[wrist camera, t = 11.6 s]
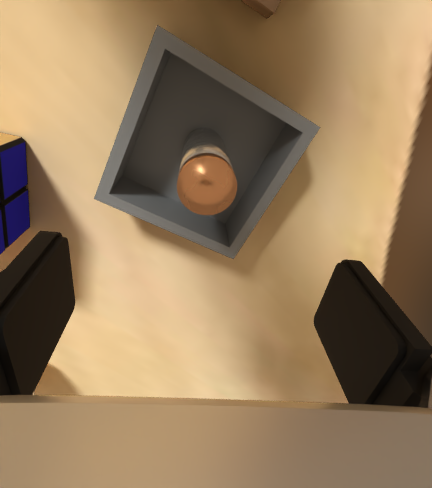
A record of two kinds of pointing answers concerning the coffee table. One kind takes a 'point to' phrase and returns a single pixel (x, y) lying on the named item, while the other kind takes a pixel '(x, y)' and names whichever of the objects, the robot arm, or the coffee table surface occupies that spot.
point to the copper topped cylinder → (206, 174)
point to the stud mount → (263, 6)
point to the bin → (177, 130)
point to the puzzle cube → (13, 190)
